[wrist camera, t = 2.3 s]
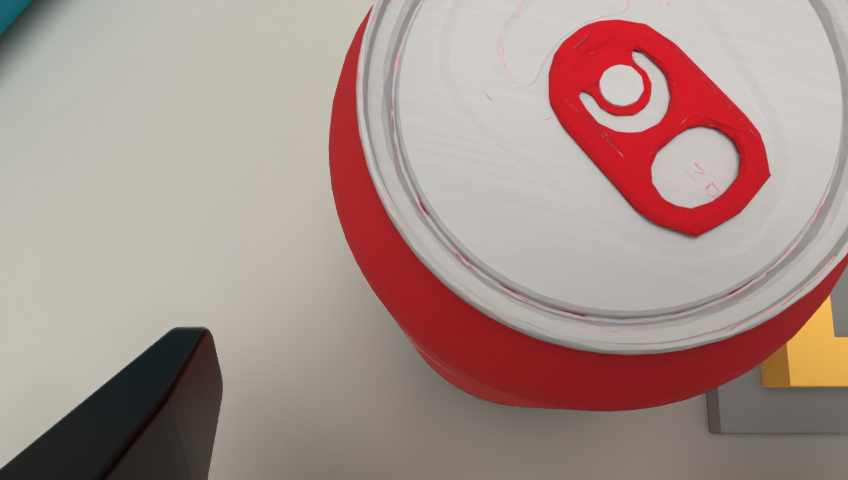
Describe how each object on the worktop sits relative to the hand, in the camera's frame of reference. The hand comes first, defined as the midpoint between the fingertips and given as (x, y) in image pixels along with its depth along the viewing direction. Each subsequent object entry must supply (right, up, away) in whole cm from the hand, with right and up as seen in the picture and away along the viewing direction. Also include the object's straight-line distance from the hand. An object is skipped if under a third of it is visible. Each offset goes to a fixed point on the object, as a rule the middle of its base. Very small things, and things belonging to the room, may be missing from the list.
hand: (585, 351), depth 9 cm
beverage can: (0, 0, +10) cm, 10 cm away
